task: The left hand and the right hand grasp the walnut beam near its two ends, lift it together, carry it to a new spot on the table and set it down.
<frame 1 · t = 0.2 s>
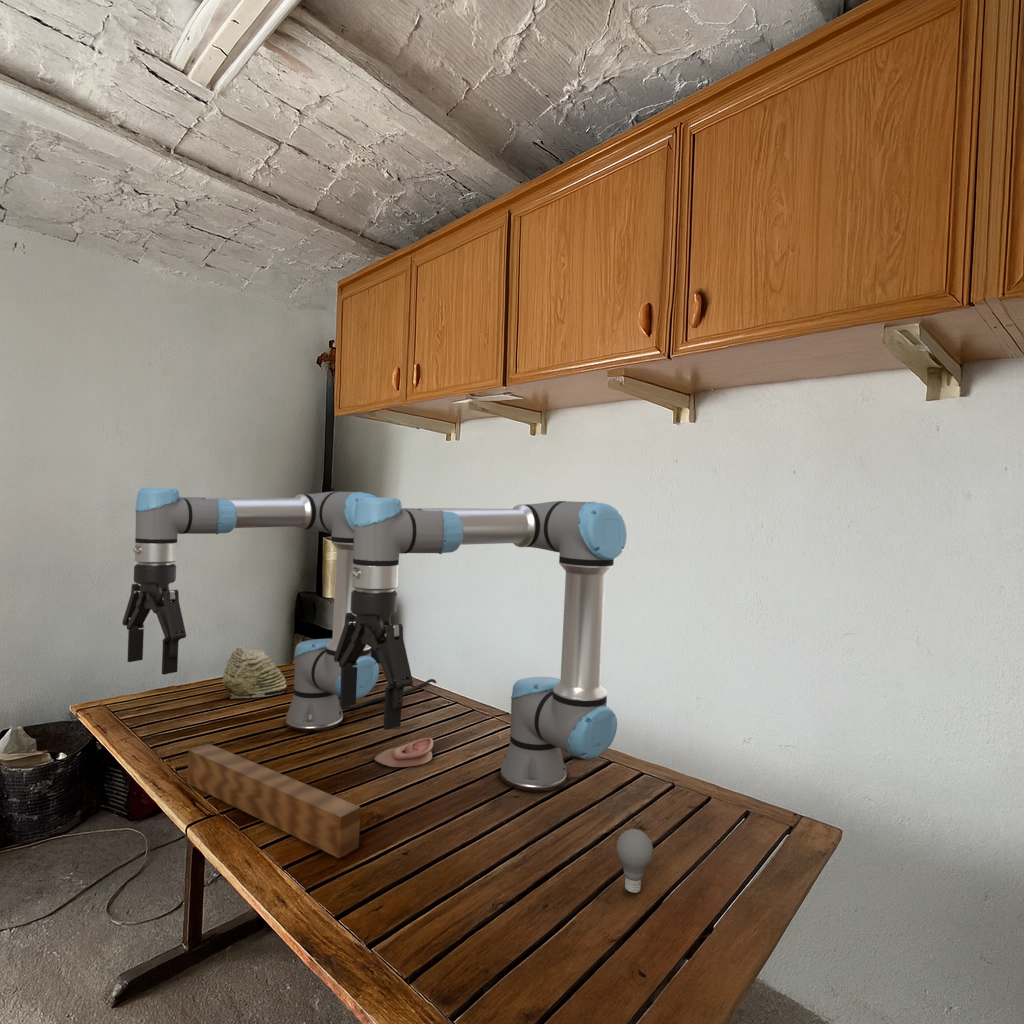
left hand: (151, 666, 130), 27 cm above the table, tool pointing down, fingers open, 13 cm apart
right hand: (368, 716, 106), 27 cm above the table, tool pointing down, fingers open, 13 cm apart
anatomical model: (404, 759, 155), on the table
light bulb: (632, 891, 106), on the table
beam: (265, 812, 126), on the table
fossil: (254, 694, 198), on the table
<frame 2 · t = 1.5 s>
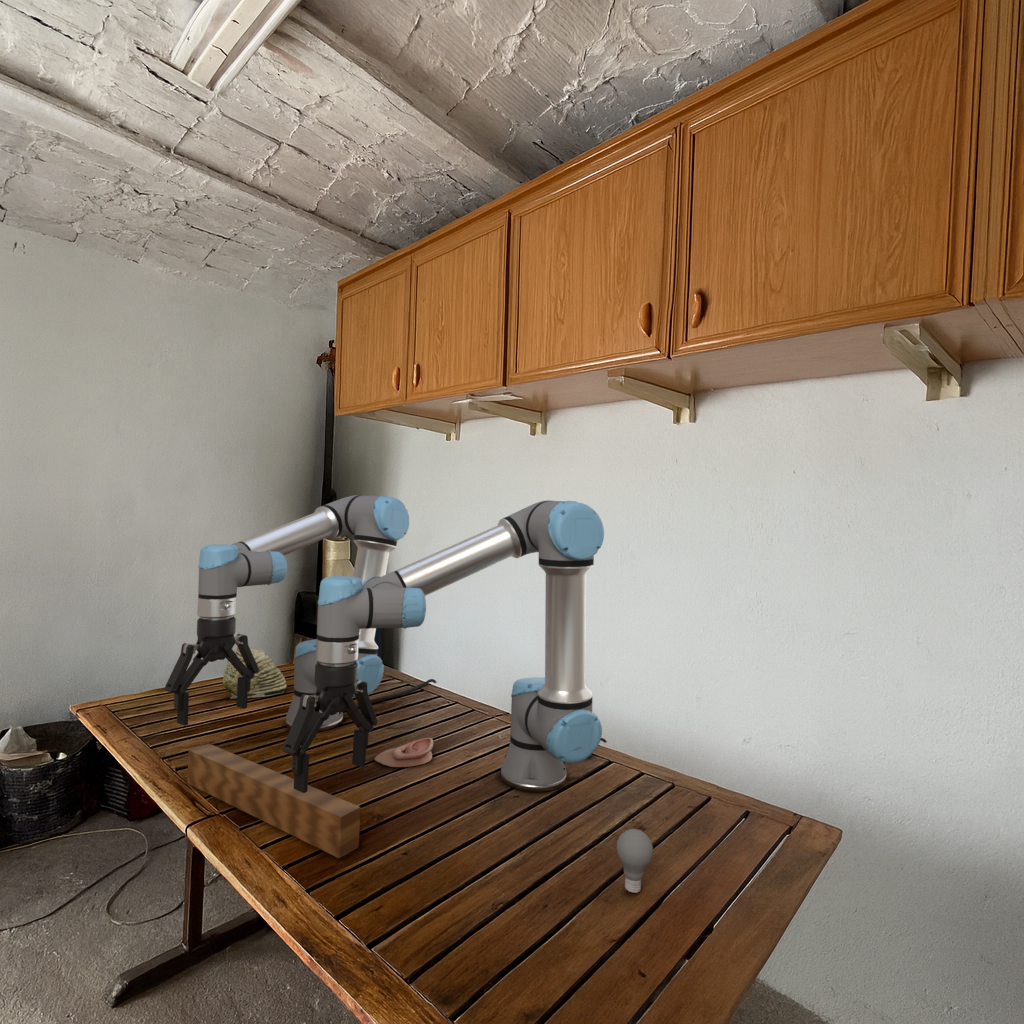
left hand: (213, 715, 136), 15 cm above the table, tool pointing down, fingers open, 13 cm apart
right hand: (330, 777, 116), 12 cm above the table, tool pointing down, fingers open, 13 cm apart
nothing on the table moved.
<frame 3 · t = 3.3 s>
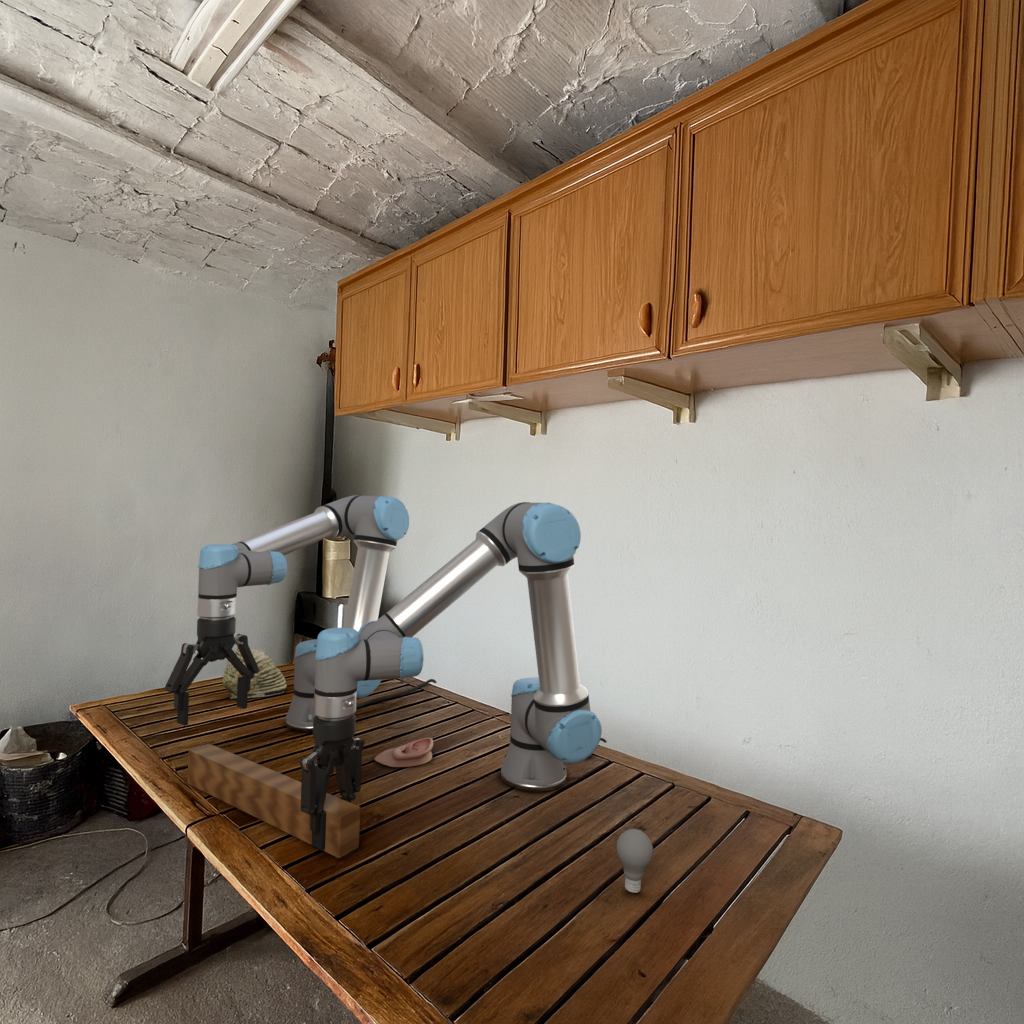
left hand: (213, 715, 136), 15 cm above the table, tool pointing down, fingers open, 13 cm apart
right hand: (330, 840, 116), 1 cm above the table, tool pointing down, fingers closed on beam, 5 cm apart
beam: (265, 812, 126), on the table, touching right hand
everything else where it was.
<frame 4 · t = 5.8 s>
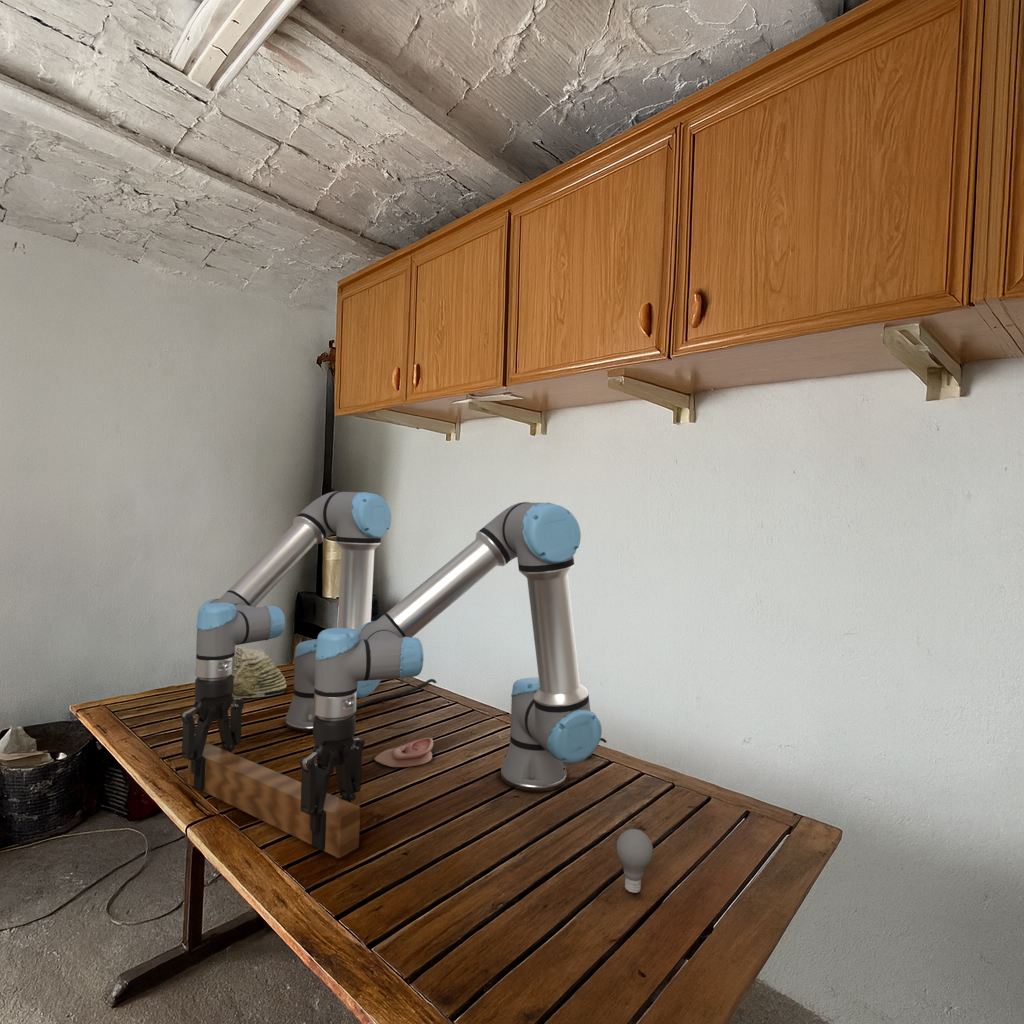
left hand: (211, 783, 136), 1 cm above the table, tool pointing down, fingers closed on beam, 5 cm apart
right hand: (330, 840, 116), 1 cm above the table, tool pointing down, fingers closed on beam, 5 cm apart
beam: (265, 812, 126), on the table, touching left hand, right hand
everything else where it was.
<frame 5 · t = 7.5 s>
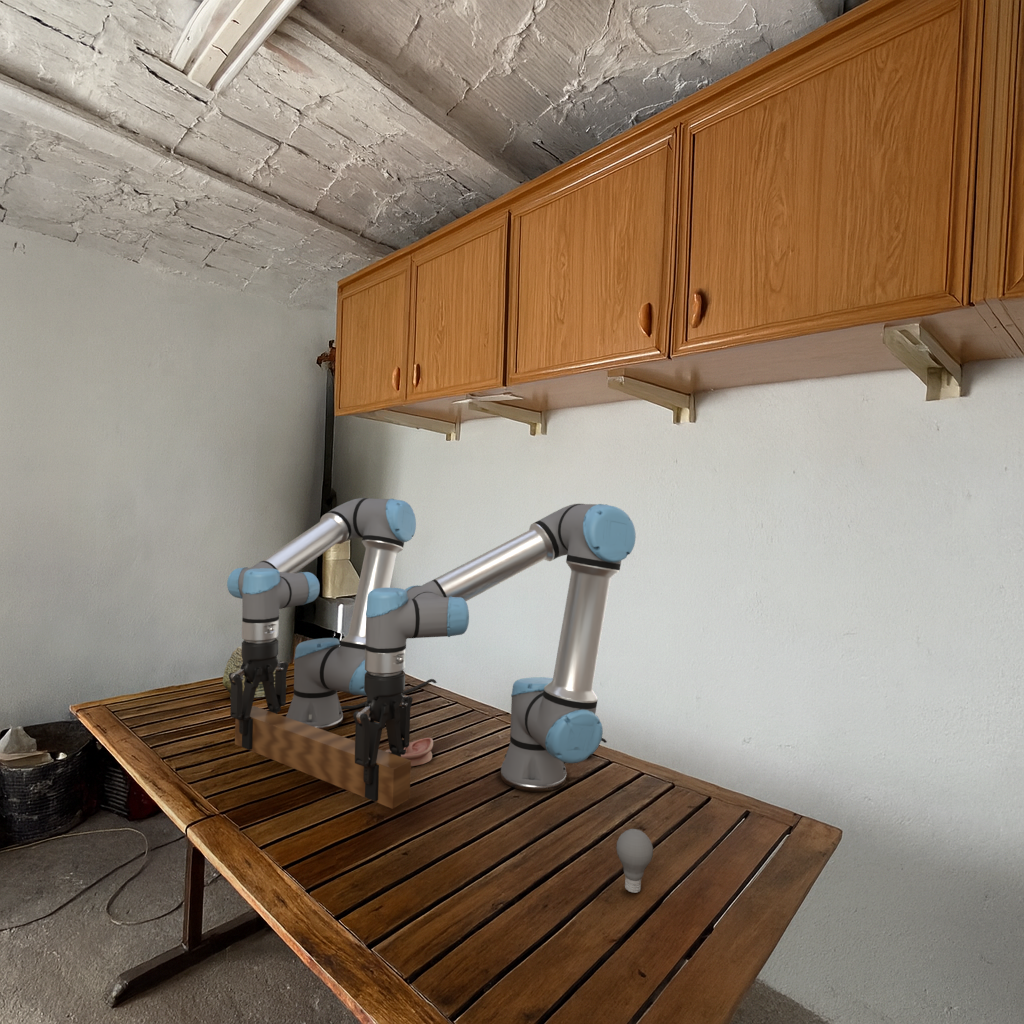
left hand: (258, 743, 140), 8 cm above the table, tool pointing down, fingers closed on beam, 5 cm apart
right hand: (381, 792, 120), 8 cm above the table, tool pointing down, fingers closed on beam, 5 cm apart
beam: (315, 769, 130), point 7 cm above the table, touching left hand, right hand
everything else where it was.
when the left hand's fingers open (2 cm above the table, at t = 9.2 s): beam drops 2 cm, on the table.
when the right hand's fingers open (2 cm above the table, at t = 9.2 s): beam drops 2 cm, on the table.
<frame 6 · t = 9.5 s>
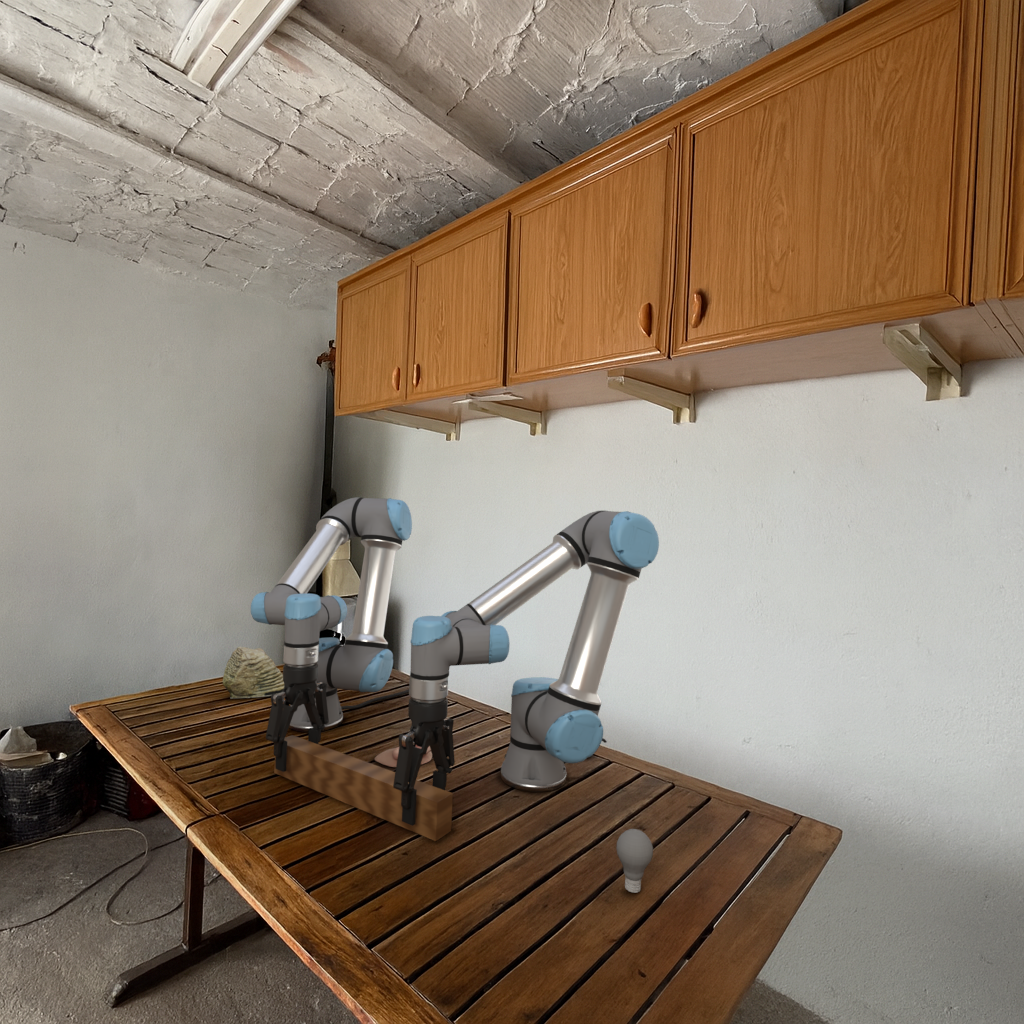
left hand: (297, 763, 143), 3 cm above the table, tool pointing down, fingers open, 8 cm apart
right hand: (423, 813, 123), 3 cm above the table, tool pointing down, fingers open, 8 cm apart
beam: (355, 799, 133), on the table
everything else where it was.
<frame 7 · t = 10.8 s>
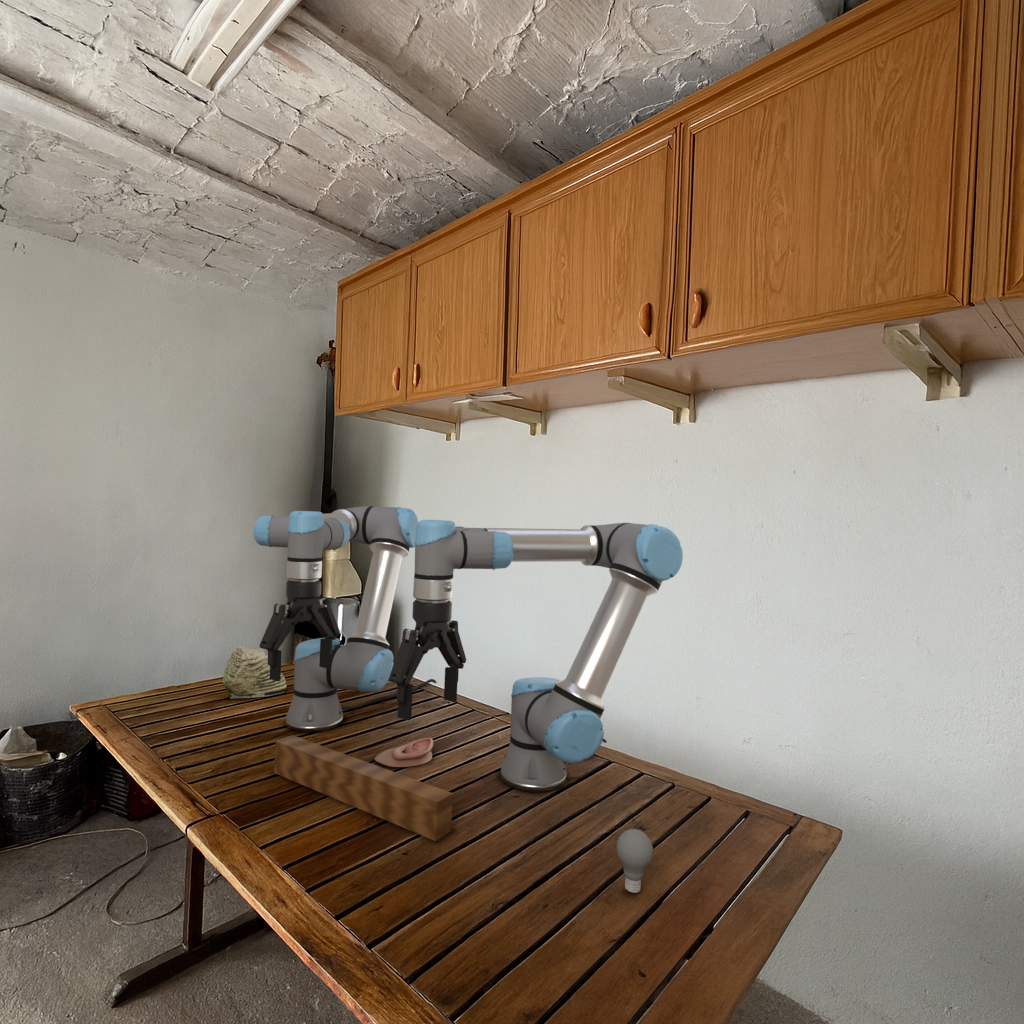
left hand: (300, 673, 143), 23 cm above the table, tool pointing down, fingers open, 13 cm apart
right hand: (428, 709, 123), 23 cm above the table, tool pointing down, fingers open, 13 cm apart
nothing on the table moved.
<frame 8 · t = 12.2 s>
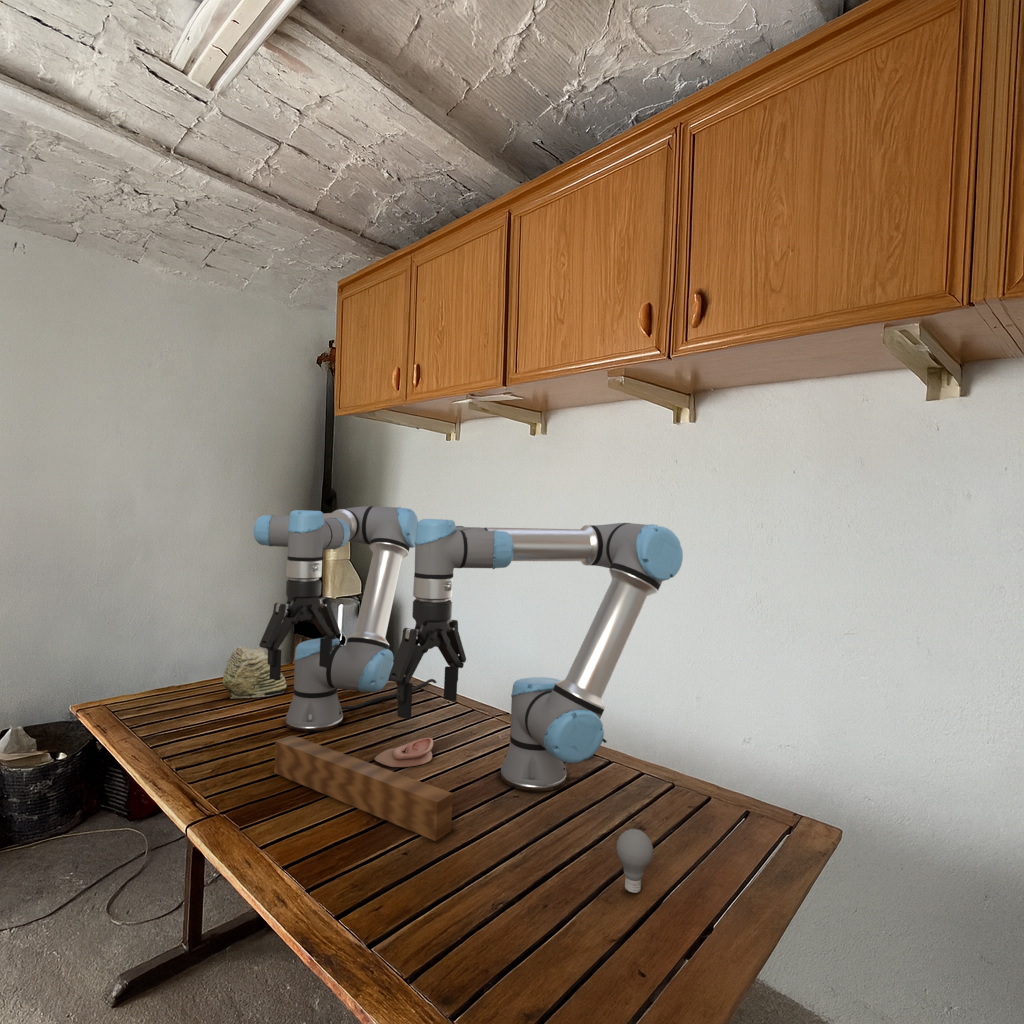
left hand: (300, 672, 143), 23 cm above the table, tool pointing down, fingers open, 13 cm apart
right hand: (428, 708, 123), 23 cm above the table, tool pointing down, fingers open, 13 cm apart
nothing on the table moved.
at the end: beam inside the target area (0.0 cm from its centre), on the table; beam tilted 0°; beam never tilted more than 2° during the clip; both hands held the beam at the same time; the left hand is holding nothing; the right hand is holding nothing; beam at rest at the end (0.0 cm/s) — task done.
